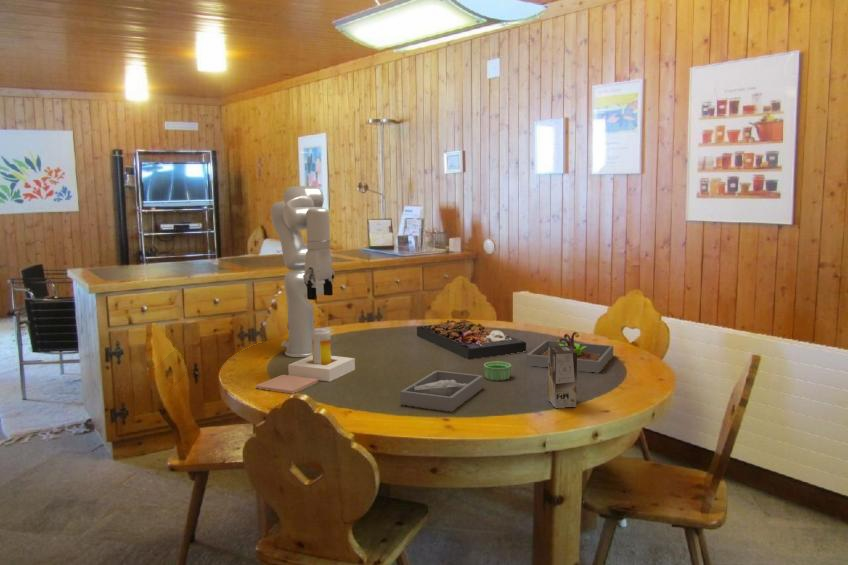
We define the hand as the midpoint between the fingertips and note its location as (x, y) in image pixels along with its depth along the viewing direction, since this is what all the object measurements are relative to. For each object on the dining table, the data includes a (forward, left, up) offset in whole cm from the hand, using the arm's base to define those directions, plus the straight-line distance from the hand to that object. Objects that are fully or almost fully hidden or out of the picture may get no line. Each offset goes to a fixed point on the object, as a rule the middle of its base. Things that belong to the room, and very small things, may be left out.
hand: (320, 297), depth 235 cm
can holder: (0, 0, -26) cm, 26 cm away
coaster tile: (-2, -17, -26) cm, 31 cm away
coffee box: (+82, -1, -26) cm, 86 cm away
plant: (+73, +48, -27) cm, 92 cm away
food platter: (+29, +60, -27) cm, 72 cm away
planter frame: (+73, +48, -26) cm, 91 cm away
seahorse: (+48, -8, -26) cm, 55 cm away
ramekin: (+56, +18, -26) cm, 64 cm away
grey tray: (+48, -8, -26) cm, 55 cm away
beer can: (0, 0, -26) cm, 26 cm away
